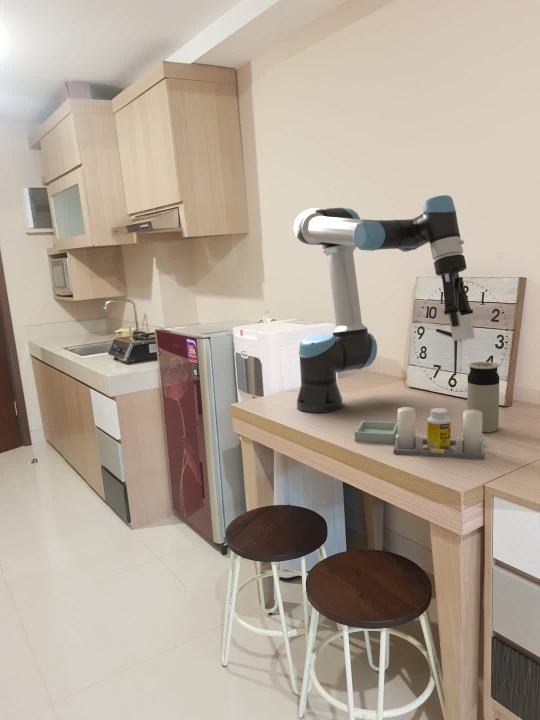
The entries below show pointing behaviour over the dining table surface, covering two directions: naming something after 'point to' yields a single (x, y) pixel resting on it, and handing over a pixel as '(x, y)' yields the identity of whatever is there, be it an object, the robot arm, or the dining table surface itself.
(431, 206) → the robot arm
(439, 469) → the dining table surface
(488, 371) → the travel mug
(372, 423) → the tray
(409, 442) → the twin cylinder holder
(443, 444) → the supplement bottle
